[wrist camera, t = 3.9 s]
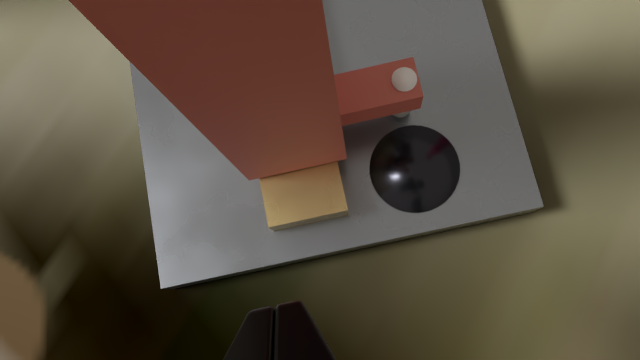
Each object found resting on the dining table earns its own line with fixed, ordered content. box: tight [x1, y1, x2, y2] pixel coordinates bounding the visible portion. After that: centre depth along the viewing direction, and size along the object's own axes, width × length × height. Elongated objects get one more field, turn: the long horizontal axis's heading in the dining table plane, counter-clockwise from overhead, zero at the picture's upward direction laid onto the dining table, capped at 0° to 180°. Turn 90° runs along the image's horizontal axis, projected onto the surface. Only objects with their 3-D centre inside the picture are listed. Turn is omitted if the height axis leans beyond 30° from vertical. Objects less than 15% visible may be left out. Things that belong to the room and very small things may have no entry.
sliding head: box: [69, 0, 424, 180], centre depth 11 cm, size 3×5×14 cm, turn 102°
